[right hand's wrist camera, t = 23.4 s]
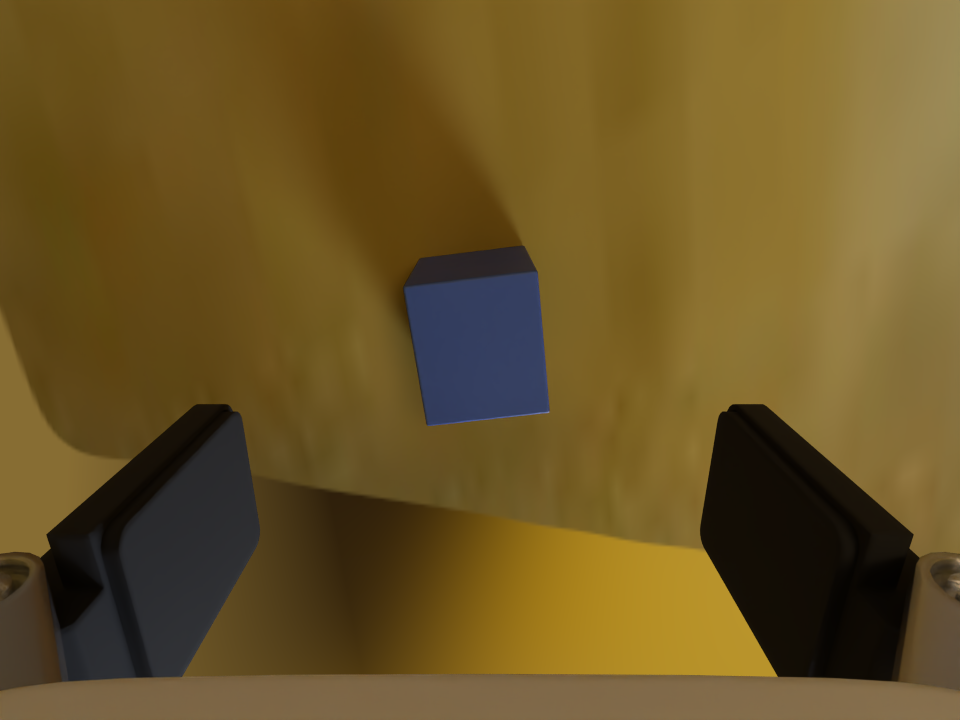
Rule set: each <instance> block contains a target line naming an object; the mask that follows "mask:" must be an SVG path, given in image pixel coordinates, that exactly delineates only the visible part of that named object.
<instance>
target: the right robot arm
mask: <svg viewBox="0 0 960 720" xmlns="http://www.w3.org/2000/svg"><path fill="white" fill-rule="evenodd" d="M259 535H260V526H259V520H258V514H257V508H256V501H255V495H254V489H253V483H252V477H251V471H250V465H249V459H248V453H247V447H246V441H245V434H244V428H243V422H242V418H241V415H240V413H238V412H233V411H232V409H231V407H230V406H229V405H227V404H197V405H195V406H193V407H192V408H191V409H190V410H189V411H188V412H186V413H185V414H184V415H183V416H182V417H181V418H180V419H178V420H177V421H176V422H175V423H174V424H173V425H171V426H170V427H169V428H168V429H167V430H166V431H165V432H163V433H162V434H161V435H160V436H159V437H158V438H157V439H155V440H154V441H153V442H152V443H151V444H150V445H149V446H147V447H146V448H145V449H144V450H143V451H142V452H141V453H139V454H138V455H137V456H136V457H135V458H134V459H132V460H131V461H130V462H129V463H128V464H127V465H126V466H125V467H123V468H122V469H121V470H120V471H119V472H118V473H116V474H115V475H114V476H113V477H112V478H111V479H110V480H108V481H107V482H106V483H105V484H104V485H103V486H102V487H100V488H99V489H98V490H97V491H96V492H95V493H94V494H92V495H91V496H90V497H89V498H88V499H87V500H85V501H84V502H83V503H82V504H81V505H80V506H79V507H77V508H76V509H75V510H74V511H73V512H72V513H71V514H69V515H68V516H67V517H66V518H65V519H64V520H63V521H61V522H60V523H59V524H58V525H57V526H56V527H54V528H53V529H52V530H51V531H50V532H49V533H48V534H47V538H48V541H49V544H50V547H51V549H50V550H49V551H47V552H46V553H45V554H44V555H43V556H42V557H41V558H40V557H38V556H36V555H33V554H31V553H24V552H11V553H3V554H0V720H960V554H957V553H949V552H936V553H929V554H927V555H924V556H922V557H920V558H919V557H918V556H917V555H916V554H915V553H914V552H913V551H911V550H910V549H909V547H910V544H911V541H912V538H913V535H914V534H912V533H911V532H910V531H909V530H908V529H907V528H906V527H904V526H903V525H902V524H901V523H900V522H899V521H898V520H896V519H895V518H894V517H893V516H892V515H891V514H889V513H888V512H887V511H886V510H885V509H884V508H883V507H881V506H880V505H879V504H878V503H877V502H876V501H875V500H873V499H872V498H871V497H870V496H869V495H868V494H867V493H865V492H864V491H863V490H862V489H861V488H860V487H858V486H857V485H856V484H855V483H854V482H853V481H852V480H850V479H849V478H848V477H847V476H846V475H845V474H844V473H842V472H841V471H840V470H839V469H838V468H837V467H836V466H834V465H833V464H832V463H831V462H830V461H829V460H828V459H826V458H825V457H824V456H823V455H822V454H821V453H819V452H818V451H817V450H816V449H815V448H814V447H813V446H811V445H810V444H809V443H808V442H807V441H806V440H805V439H803V438H802V437H801V436H800V435H799V434H798V433H797V432H795V431H794V430H793V429H792V428H791V427H790V426H789V425H787V424H786V423H785V422H784V421H783V420H782V419H780V418H779V417H778V416H777V415H776V414H775V413H774V412H772V411H771V410H770V409H769V408H768V407H767V406H765V405H763V404H733V405H731V406H730V407H729V409H728V411H727V412H722V413H720V415H719V418H718V422H717V428H716V434H715V441H714V447H713V453H712V459H711V465H710V471H709V477H708V483H707V489H706V495H705V501H704V507H703V514H702V520H701V526H700V536H701V541H702V544H703V546H704V549H705V550H706V552H707V554H708V555H709V557H710V559H711V561H712V562H713V564H714V566H715V568H716V569H717V571H718V573H719V575H720V576H721V578H722V580H723V582H724V583H725V585H726V587H727V589H728V590H729V592H730V594H731V596H732V597H733V599H734V601H735V603H736V604H737V606H738V608H739V610H740V611H741V613H742V615H743V617H744V618H745V620H746V622H747V624H748V625H749V627H750V629H751V630H752V632H753V634H754V636H755V638H756V639H757V641H758V643H759V645H760V646H761V648H762V650H763V651H764V653H765V655H766V657H767V658H768V660H769V662H770V664H771V665H772V667H773V669H774V671H775V672H776V674H777V676H778V677H755V676H705V675H573V674H572V675H571V674H569V675H568V674H392V675H391V674H390V675H389V674H388V675H255V676H205V677H182V676H183V674H184V672H185V671H186V669H187V667H188V665H189V664H190V662H191V660H192V658H193V657H194V655H195V653H196V651H197V650H198V648H199V646H200V644H201V643H202V641H203V639H204V638H205V636H206V634H207V632H208V630H209V629H210V627H211V625H212V624H213V622H214V620H215V618H216V617H217V615H218V613H219V611H220V609H221V608H222V606H223V604H224V603H225V601H226V599H227V597H228V596H229V594H230V592H231V590H232V589H233V587H234V585H235V583H236V582H237V580H238V578H239V576H240V575H241V573H242V571H243V569H244V568H245V566H246V564H247V562H248V561H249V559H250V557H251V555H252V554H253V552H254V550H255V548H256V546H257V544H258V541H259Z"/></svg>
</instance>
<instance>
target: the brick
mask: <svg viewBox="0 0 960 720" xmlns="http://www.w3.org/2000/svg"><path fill="white" fill-rule="evenodd" d="M403 290H404V296H405V302H406V308H407V314H408V319H409V325H410V331H411V337H412V343H413V348H414V354H415V360H416V366H417V372H418V377H419V383H420V389H421V395H422V401H423V406H424V412H425V418H426V424H427V425H428V426H432V425H441V424H450V423H459V422H468V421H477V420H486V419H495V418H504V417H513V416H522V415H531V414H541V413H548V412H549V399H548V387H547V376H546V364H545V353H544V341H543V329H542V318H541V306H540V295H539V283H538V272H537V270H536V268H535V266H534V264H533V262H532V260H531V258H530V256H529V254H528V252H527V250H526V248H525V246H516V247H508V248H500V249H492V250H484V251H476V252H468V253H459V254H451V255H443V256H435V257H427V258H420V259H419V261H418V263H417V264H416V266H415V268H414V270H413V271H412V273H411V275H410V276H409V278H408V280H407V282H406V283H405V285H404V287H403Z"/></svg>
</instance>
